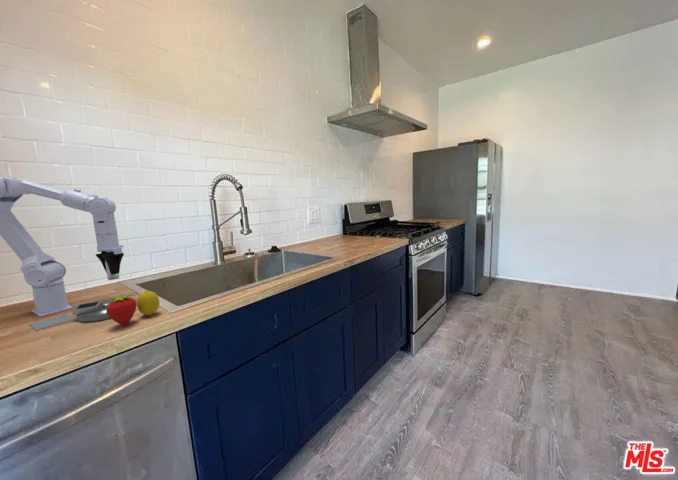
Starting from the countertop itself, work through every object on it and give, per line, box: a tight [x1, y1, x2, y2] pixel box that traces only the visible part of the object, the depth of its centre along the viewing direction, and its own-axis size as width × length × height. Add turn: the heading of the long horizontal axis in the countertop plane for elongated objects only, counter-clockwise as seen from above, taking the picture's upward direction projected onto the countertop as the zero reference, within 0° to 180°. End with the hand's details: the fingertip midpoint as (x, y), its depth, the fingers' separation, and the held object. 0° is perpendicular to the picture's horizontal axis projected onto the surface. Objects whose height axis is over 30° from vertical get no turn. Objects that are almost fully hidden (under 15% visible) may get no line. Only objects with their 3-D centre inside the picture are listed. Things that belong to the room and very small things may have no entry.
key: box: [105, 261, 120, 281], centre depth 98 cm, size 3×3×7 cm
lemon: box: [136, 289, 160, 317], centre depth 85 cm, size 6×6×8 cm
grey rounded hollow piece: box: [71, 299, 114, 324], centre depth 89 cm, size 14×14×4 cm
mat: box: [28, 314, 75, 332], centre depth 84 cm, size 8×8×1 cm
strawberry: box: [106, 290, 137, 327], centre depth 79 cm, size 6×8×10 cm
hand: (112, 273), depth 98 cm, fingers closed on key, 3 cm apart
